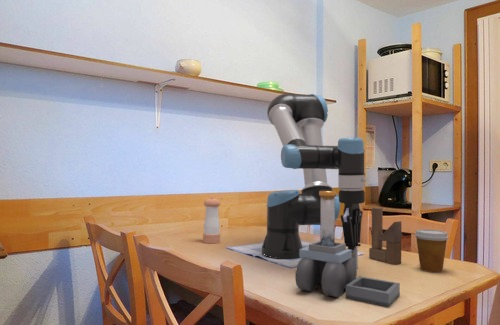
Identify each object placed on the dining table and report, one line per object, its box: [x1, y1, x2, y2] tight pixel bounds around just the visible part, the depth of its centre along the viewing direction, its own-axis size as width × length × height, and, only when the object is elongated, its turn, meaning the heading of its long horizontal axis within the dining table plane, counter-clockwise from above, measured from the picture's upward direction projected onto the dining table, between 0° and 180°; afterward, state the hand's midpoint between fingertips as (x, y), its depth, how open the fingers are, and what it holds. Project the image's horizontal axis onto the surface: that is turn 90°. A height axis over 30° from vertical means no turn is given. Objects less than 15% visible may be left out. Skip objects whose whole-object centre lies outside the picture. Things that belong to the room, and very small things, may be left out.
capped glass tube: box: [319, 190, 337, 247], centre depth 97 cm, size 4×4×15 cm
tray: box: [345, 276, 401, 308], centre depth 90 cm, size 10×10×3 cm
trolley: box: [295, 240, 358, 298], centre depth 97 cm, size 11×16×12 cm
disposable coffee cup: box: [414, 228, 449, 273], centre depth 117 cm, size 10×10×12 cm
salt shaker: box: [202, 196, 221, 244], centre depth 159 cm, size 7×7×19 cm
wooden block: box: [368, 206, 402, 266], centre depth 128 cm, size 4×11×18 cm, turn 31°
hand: (352, 268), depth 111 cm, fingers closed
